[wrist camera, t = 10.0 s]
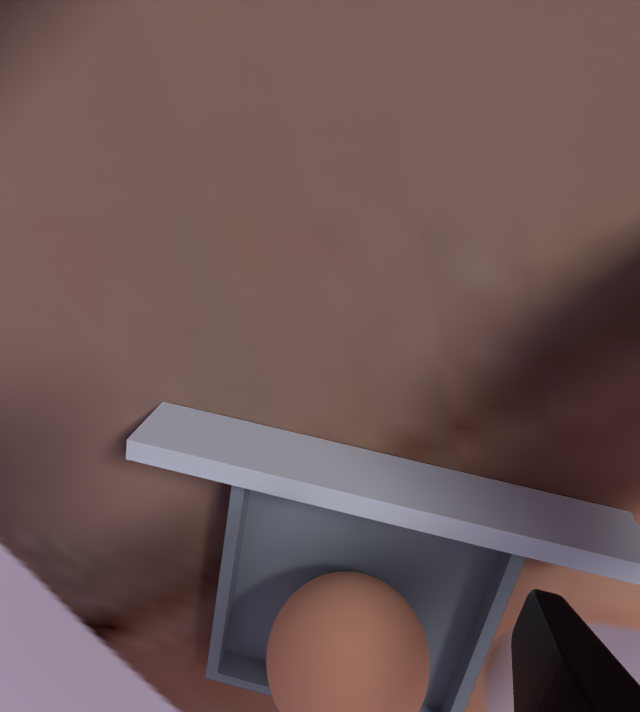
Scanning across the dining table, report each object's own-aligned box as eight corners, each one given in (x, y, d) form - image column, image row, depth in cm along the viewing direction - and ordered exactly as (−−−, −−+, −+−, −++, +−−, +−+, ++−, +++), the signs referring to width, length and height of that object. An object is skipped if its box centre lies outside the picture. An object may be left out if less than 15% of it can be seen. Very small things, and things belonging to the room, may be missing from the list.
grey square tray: (523, 519, 22) (530, 545, 20) (448, 712, 26) (450, 745, 24) (244, 452, 22) (233, 473, 21) (216, 649, 27) (205, 678, 25)
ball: (441, 557, 23) (456, 696, 17) (407, 662, 25) (409, 815, 19) (294, 524, 23) (261, 650, 17) (273, 631, 25) (238, 773, 20)
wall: (631, 511, 21) (663, 569, 18) (622, 529, 21) (654, 588, 18) (162, 401, 22) (126, 439, 19) (161, 419, 23) (125, 459, 20)
